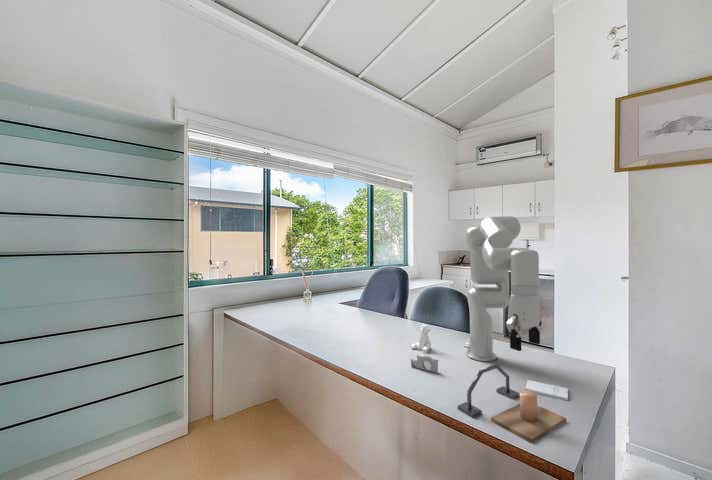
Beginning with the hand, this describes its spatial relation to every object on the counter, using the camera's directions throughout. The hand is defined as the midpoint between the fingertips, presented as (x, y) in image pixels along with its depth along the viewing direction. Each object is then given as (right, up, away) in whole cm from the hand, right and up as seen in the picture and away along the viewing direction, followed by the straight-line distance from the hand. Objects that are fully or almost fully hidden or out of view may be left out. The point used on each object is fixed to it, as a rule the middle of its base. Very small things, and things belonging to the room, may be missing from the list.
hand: (525, 346), depth 95 cm
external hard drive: (+16, -22, +15) cm, 31 cm away
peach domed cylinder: (-1, -20, -3) cm, 20 cm away
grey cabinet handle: (-7, -21, +8) cm, 24 cm away
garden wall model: (-23, -22, +35) cm, 47 cm away
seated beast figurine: (-18, -22, +59) cm, 65 cm away
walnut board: (-1, -21, -3) cm, 21 cm away
